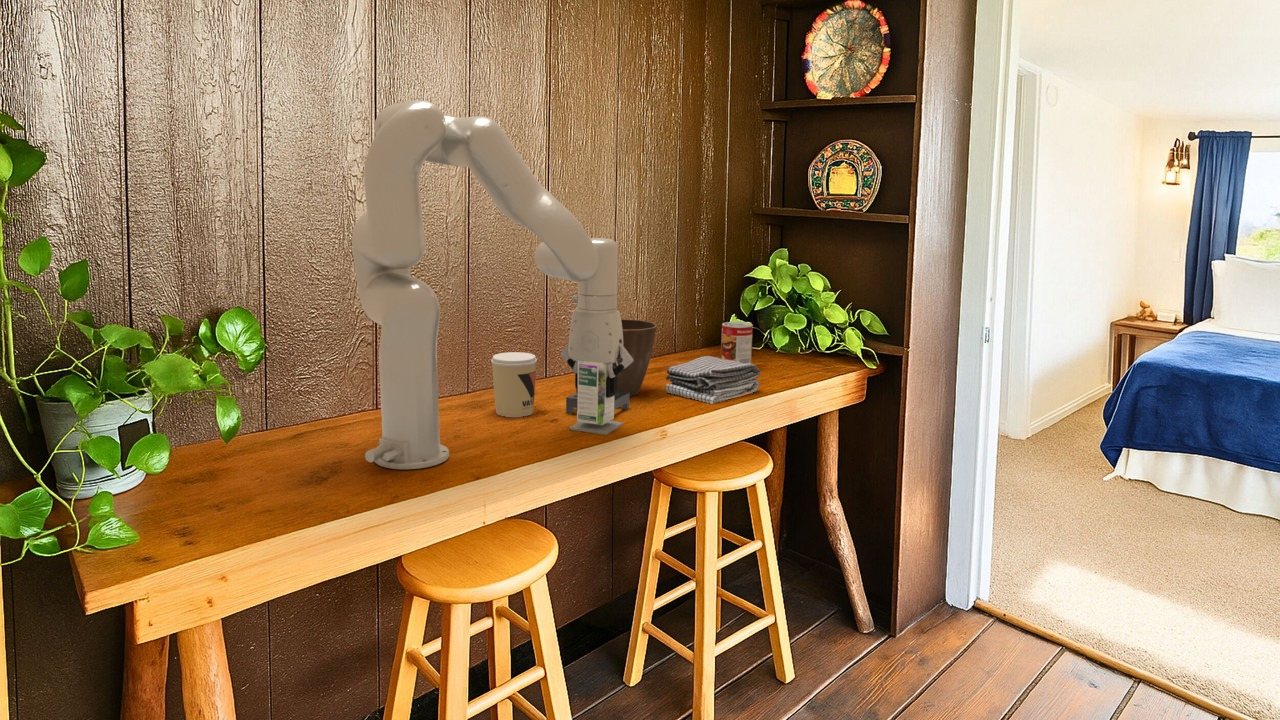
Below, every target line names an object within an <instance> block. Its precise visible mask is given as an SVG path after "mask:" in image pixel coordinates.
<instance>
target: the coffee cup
mask: <svg viewBox="0 0 1280 720" xmlns="http://www.w3.org/2000/svg"><path fill="white" fill-rule="evenodd" d="M490 363H491V364H492V365H491V368H492V379H493V380H492V381H493V393H494V394H493V395H494V403H495V412H496V415H498V416H500V415H501V416H500V417H503V416H505V417H506V418H523V416H524V417H527V416H531V415H533V413H534V407H535V406H534V405H535V392H536V378H537V377H536V375H537V363H538V359H537V357H536V355H535V354H533V353H530V352H529V353H528V352H519V351H516V352H515V351H513V352H512V351H509V352H500V353H496V354H494V355H493V356H492V358H491V362H490Z"/></svg>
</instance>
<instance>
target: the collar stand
mask: <svg viewBox="0 0 1280 720" xmlns="http://www.w3.org/2000/svg"><path fill="white" fill-rule="evenodd" d="M630 397H631V396H630V392H622V391H617V392H616V394H615V395H614V411H615V410H616V409H618V408H620V407H621V409H622V410H629V409H630ZM565 399H566V400H565V413H567V415H572V414H574V413H575V409H577V402H578V394H577V393H576V392H575V393H573V394H571V395H568V396H566V397H565Z"/></svg>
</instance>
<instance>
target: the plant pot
mask: <svg viewBox="0 0 1280 720" xmlns="http://www.w3.org/2000/svg"><path fill="white" fill-rule="evenodd" d="M621 322H622V330H623V346H624V348H625V349H626V350H627V352H628V353H629V354H630V355H631V357H632V358H633V362H632V363H631V364H630V365H629V366H627V367H626V368H625V369H624V370H623V371H622V372H621V373H620V374H619V375H618V380H617V391H622V392H630V397H631V396H635V395H638V394H639V393H640V391H641V390H640V389H641V388H642V384H643V382H644V380H645V377H646V374H647V371H648V368H649V364H650V360H651V357H652V353H653V348H654V343H655V336H656V332H657V324H656V323H654V322H651V321H646V320H640V319H622V318H621ZM622 361H623V359H620V360H617V363H618V365H619V364H620V363H621V362H622Z"/></svg>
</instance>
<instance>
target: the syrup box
mask: <svg viewBox="0 0 1280 720" xmlns="http://www.w3.org/2000/svg"><path fill="white" fill-rule="evenodd" d="M608 376H609V375H608V371H607V368H606V364H604V363H600V362H589V361H578V402H577V408H576V410H577V411H576V422H577V423H579V422H584V423H590V424H597V425H604V424H605V423H607V422H609V421H613V420H614V418H615V410H614V396H612V397H610V398H607V397H606V378H607V377H608Z"/></svg>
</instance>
